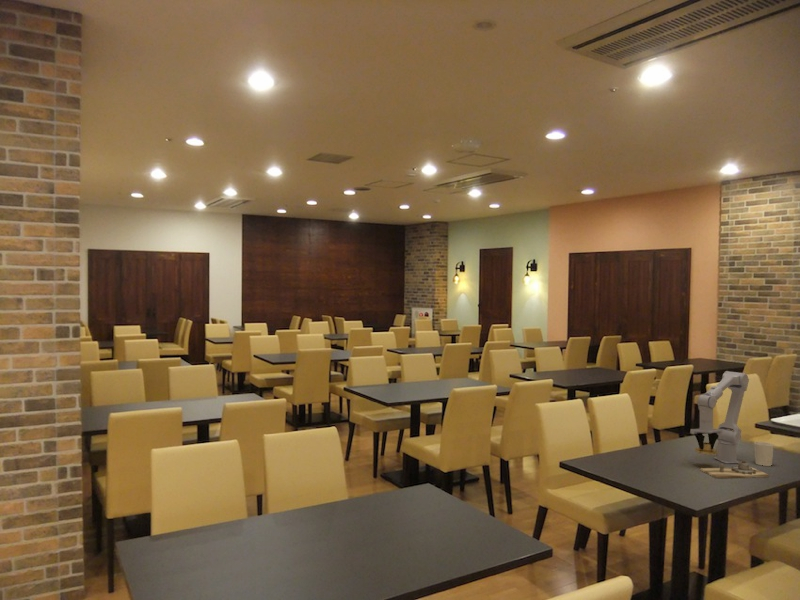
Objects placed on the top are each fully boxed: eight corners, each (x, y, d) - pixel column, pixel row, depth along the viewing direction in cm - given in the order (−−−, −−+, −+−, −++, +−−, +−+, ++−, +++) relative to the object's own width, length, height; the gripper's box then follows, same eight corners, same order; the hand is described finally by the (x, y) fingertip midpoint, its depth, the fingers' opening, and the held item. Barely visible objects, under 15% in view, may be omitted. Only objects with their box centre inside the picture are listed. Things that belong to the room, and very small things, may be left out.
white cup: (770, 462, 282) (770, 442, 282) (775, 467, 275) (775, 446, 275) (752, 461, 285) (752, 441, 285) (756, 465, 278) (756, 444, 277)
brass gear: (690, 449, 281) (690, 441, 281) (710, 449, 281) (710, 440, 281) (702, 454, 271) (702, 446, 271) (722, 454, 271) (722, 446, 271)
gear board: (700, 470, 270) (700, 457, 270) (751, 469, 272) (751, 456, 272) (716, 478, 258) (716, 465, 258) (769, 477, 260) (769, 463, 260)
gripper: (696, 422, 272) (695, 451, 272) (726, 422, 272) (726, 450, 272) (688, 419, 279) (687, 447, 279) (717, 418, 279) (717, 447, 279)
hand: (706, 448), depth 276 cm, fingers closed on brass gear, 4 cm apart
